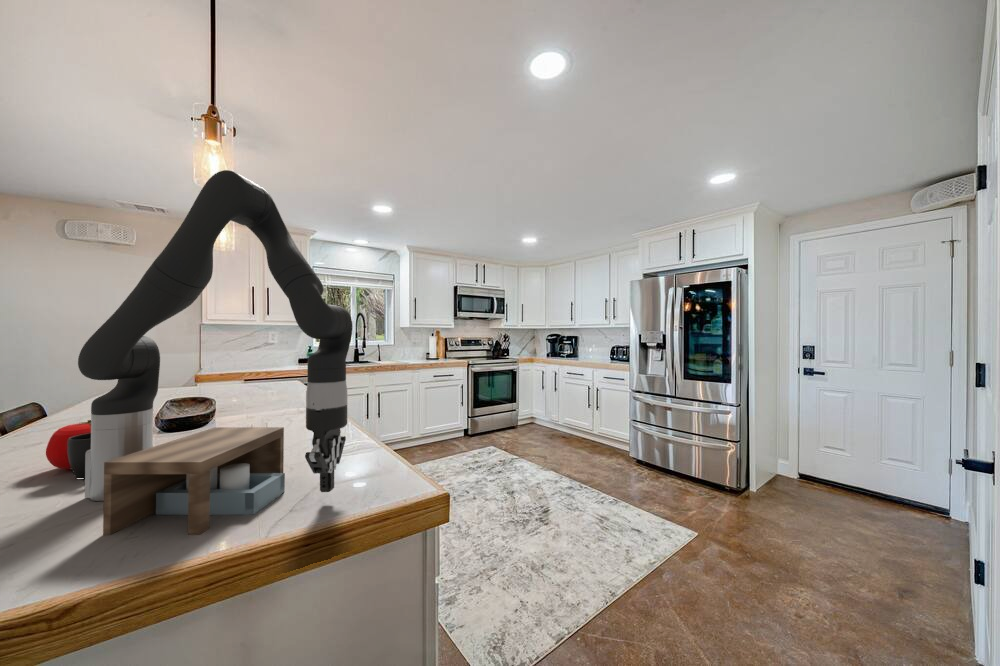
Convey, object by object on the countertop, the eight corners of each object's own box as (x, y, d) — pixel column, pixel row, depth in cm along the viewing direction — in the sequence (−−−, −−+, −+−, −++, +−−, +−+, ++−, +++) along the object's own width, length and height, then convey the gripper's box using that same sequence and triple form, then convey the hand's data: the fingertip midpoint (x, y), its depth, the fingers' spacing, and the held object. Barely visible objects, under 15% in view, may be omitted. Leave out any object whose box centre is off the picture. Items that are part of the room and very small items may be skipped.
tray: (155, 514, 68) (156, 476, 68) (199, 492, 78) (199, 459, 78) (253, 514, 68) (253, 476, 68) (284, 492, 78) (284, 458, 78)
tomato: (27, 477, 86) (28, 427, 86) (83, 458, 100) (84, 415, 100) (90, 474, 88) (91, 425, 88) (137, 456, 101) (138, 414, 102)
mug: (82, 487, 81) (82, 443, 81) (60, 478, 86) (61, 437, 86) (132, 474, 88) (132, 434, 88) (109, 467, 93) (110, 429, 93)
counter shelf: (103, 534, 61) (104, 462, 61) (213, 479, 85) (214, 427, 85) (200, 534, 61) (200, 462, 61) (283, 479, 85) (283, 427, 85)
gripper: (323, 398, 80) (323, 478, 80) (289, 410, 67) (289, 506, 67) (358, 398, 80) (358, 477, 80) (331, 409, 67) (331, 505, 67)
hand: (327, 490), depth 73 cm, fingers closed
